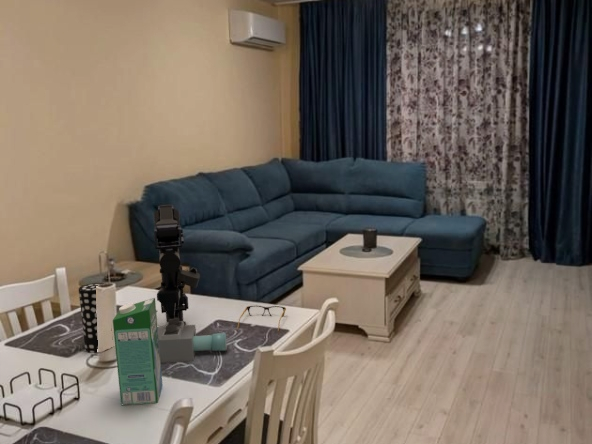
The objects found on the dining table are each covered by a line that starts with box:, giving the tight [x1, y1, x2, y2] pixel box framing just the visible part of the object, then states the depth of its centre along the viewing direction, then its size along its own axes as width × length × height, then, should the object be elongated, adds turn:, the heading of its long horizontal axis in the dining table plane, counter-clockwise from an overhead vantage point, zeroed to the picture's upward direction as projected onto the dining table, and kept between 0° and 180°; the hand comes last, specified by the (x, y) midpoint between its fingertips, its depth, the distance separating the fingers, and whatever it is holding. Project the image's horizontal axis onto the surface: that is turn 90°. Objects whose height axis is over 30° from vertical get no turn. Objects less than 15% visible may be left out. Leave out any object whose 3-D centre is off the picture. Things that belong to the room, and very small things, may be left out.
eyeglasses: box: [236, 305, 287, 332], centre depth 195 cm, size 14×14×4 cm
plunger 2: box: [165, 325, 177, 333], centre depth 167 cm, size 3×3×2 cm
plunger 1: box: [169, 317, 180, 325], centre depth 173 cm, size 3×3×2 cm
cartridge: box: [193, 332, 227, 352], centre depth 172 cm, size 20×5×5 cm, turn 94°
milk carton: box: [112, 297, 163, 406], centre depth 145 cm, size 9×9×25 cm
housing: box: [157, 320, 197, 364], centre depth 171 cm, size 11×12×8 cm
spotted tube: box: [78, 282, 105, 354], centre depth 177 cm, size 8×8×20 cm
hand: (174, 313), depth 172 cm, fingers open, 8 cm apart
